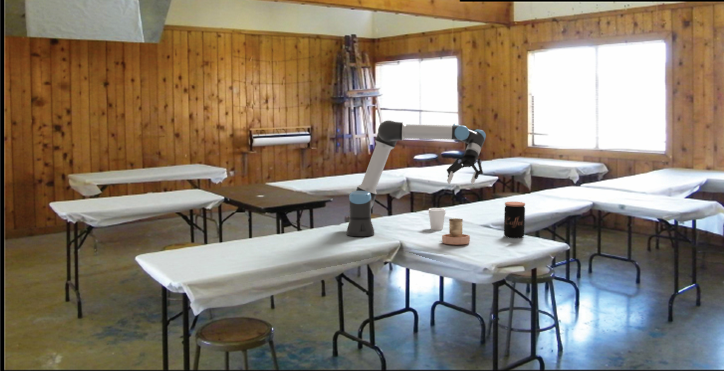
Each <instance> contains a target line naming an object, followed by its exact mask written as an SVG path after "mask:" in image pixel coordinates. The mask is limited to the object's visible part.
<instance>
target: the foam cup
mask: <svg viewBox="0 0 724 371" xmlns="http://www.w3.org/2000/svg"><path fill="white" fill-rule="evenodd" d="M446 213H447V212H446V209H445V208H442V207H430V208H428V217H429V222H430V223H429V224H430V225H429V226H430V229H431V231H442V230H444V225H445V218H446V217H445V216H446Z"/></svg>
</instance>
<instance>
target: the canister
mask: <svg viewBox="0 0 724 371" xmlns="http://www.w3.org/2000/svg"><path fill="white" fill-rule="evenodd" d="M448 221H449V224H448V225H449V226H448V228H449V233H448V234H449V237H462V234H463V221H464V220H463V218H454V217H453V218H449V219H448Z"/></svg>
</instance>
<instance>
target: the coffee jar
mask: <svg viewBox="0 0 724 371" xmlns="http://www.w3.org/2000/svg"><path fill="white" fill-rule="evenodd" d="M504 205H505V206H504V214H503V215H504V219H503V220H504V222H503V235H504V236H505V237H506V238H508V237H509V238H510V239H520V238H521V239H522V238H524V236H525V223H526V222H525V218H526V207H525V206H526V203H525V202H523V201H505V202H504ZM509 238H508V239H509Z"/></svg>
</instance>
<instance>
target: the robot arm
mask: <svg viewBox="0 0 724 371" xmlns="http://www.w3.org/2000/svg"><path fill="white" fill-rule="evenodd" d="M486 137H487V135H486V132H485V131H484V130H483V129H478V128H477V129H475V130H471V129H469V128H468V127H467V126H466V125H463V124H462V125H460V124H458V123H453V124H452V125H451V124H450V125H445V124H406V123H405V122H403V121H402V122H399V121H393V120H385V121H383V122H381V123H380V125H379V126H378V128H377V134H376V137H375V140H374V142H375V147H374V150H373V152H372V154H371V158H370V161H369V163H368V166H367V169H366V171H365V174H364V176H363V178H362V181H361V184H359V185H357V187H356V190H354V191H351V192H350V193H349V196H348V200H349V222H348V226H347V227H346V228H347V229H346V236H351V237H368V236H374V235H375V229H374V225H373V221H372V208H373V207H374V203H375V200H376V197H377V194H378V193H377V187H378V184H379V181H380V179H381V176H382V174H383V172H384V170H385V166H386V163H387V160H388V158H389V157H390V156H389V155H390V152H391V150H393V149H395V147H396V145H397V143H398V141H404V139H407V140H408V139H413V140H414V139H415V140H450V141H452V140H453V141H455V140H456V141H461V142H462V143H465V144H467V146H466V149H465V151H464V154H463V157H462V159H460V158H459V157H458V158H456V159H455V161H454V162H453V163H452V164H451V165H449V167H448V168H447V169H446V172H447V180H446V181H447V184H448V185H450V184H451V182H452V180H453V177H454V174H455V173H457V172H458V171H459V170H461V169H464V168H471V167H472V169H473V171H474V172H473V175H472V176H471V179H470V182H471V185H474V184H475V182H476V180H477V179H479V175H483V174H484V171H483V167H482V160H481V158H479V156H480V153H481V150H482V149H483V146H484V143H485V141H486ZM476 164H477V166H478V168H477V167H476Z"/></svg>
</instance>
